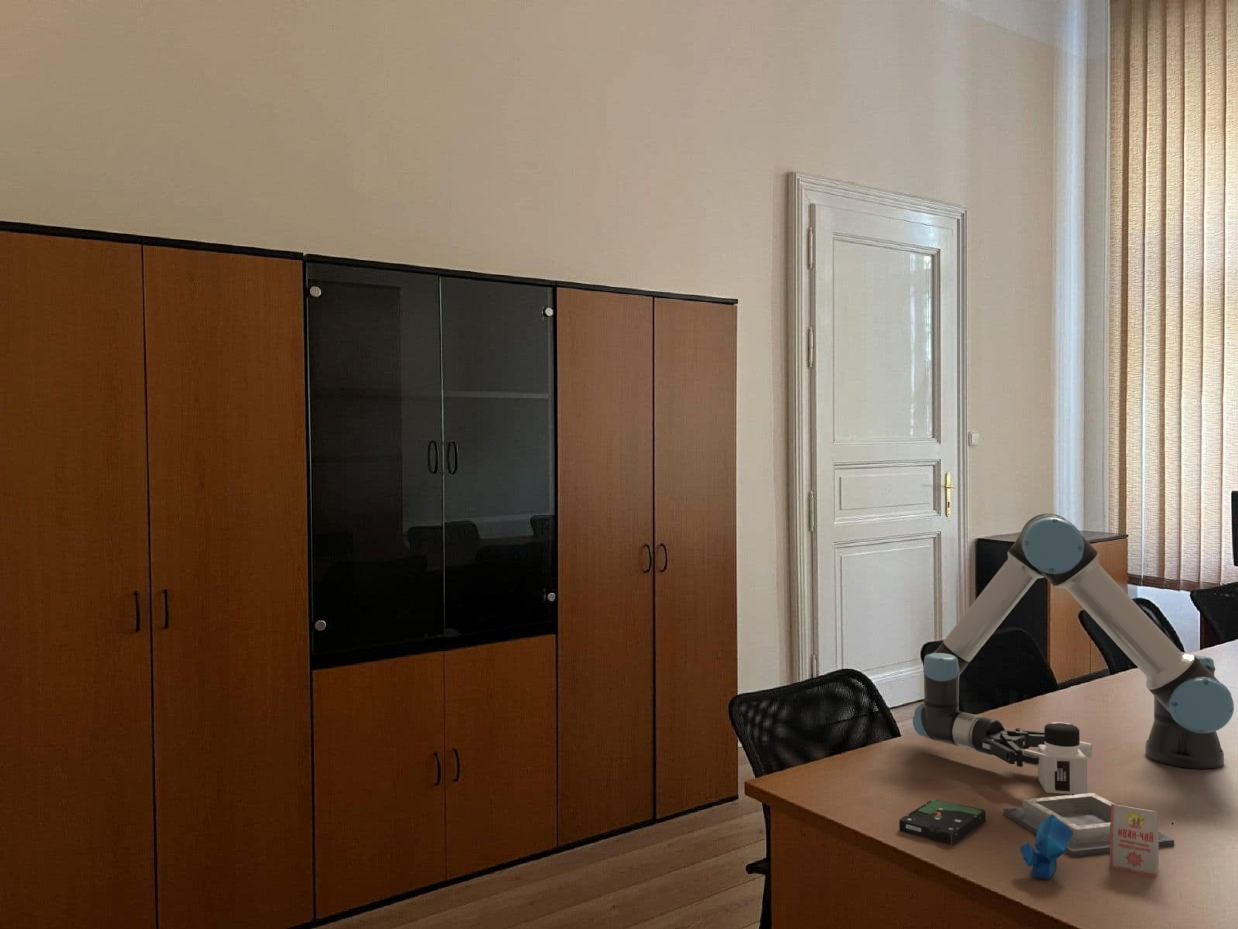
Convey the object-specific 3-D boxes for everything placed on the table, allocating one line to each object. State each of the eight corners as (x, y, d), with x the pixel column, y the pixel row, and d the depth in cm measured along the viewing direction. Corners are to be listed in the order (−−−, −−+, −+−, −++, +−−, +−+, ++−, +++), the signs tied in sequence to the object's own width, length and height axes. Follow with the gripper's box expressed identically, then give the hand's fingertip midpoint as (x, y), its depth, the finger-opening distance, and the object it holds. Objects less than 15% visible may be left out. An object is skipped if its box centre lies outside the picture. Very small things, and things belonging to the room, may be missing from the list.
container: (1087, 796, 196) (1087, 731, 196) (1046, 793, 197) (1045, 729, 197) (1077, 783, 203) (1077, 720, 203) (1037, 781, 205) (1037, 718, 205)
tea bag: (1113, 859, 166) (1112, 800, 166) (1158, 868, 162) (1158, 808, 162) (1109, 867, 163) (1109, 807, 163) (1156, 876, 159) (1155, 815, 159)
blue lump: (1013, 839, 158) (1027, 800, 167) (1016, 887, 159) (1030, 845, 169) (1063, 849, 154) (1075, 808, 163) (1066, 898, 155) (1077, 854, 165)
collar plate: (1095, 805, 191) (1095, 787, 191) (1174, 845, 171) (1174, 825, 171) (1003, 814, 186) (1003, 796, 186) (1072, 857, 167) (1072, 836, 167)
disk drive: (953, 849, 172) (986, 823, 183) (953, 834, 172) (986, 809, 183) (898, 834, 179) (933, 810, 190) (898, 819, 179) (933, 796, 190)
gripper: (1011, 740, 223) (1105, 763, 206) (945, 762, 208) (1040, 789, 191) (1011, 707, 223) (1104, 727, 206) (945, 727, 208) (1040, 751, 191)
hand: (1074, 757), depth 198 cm, fingers open, 13 cm apart
